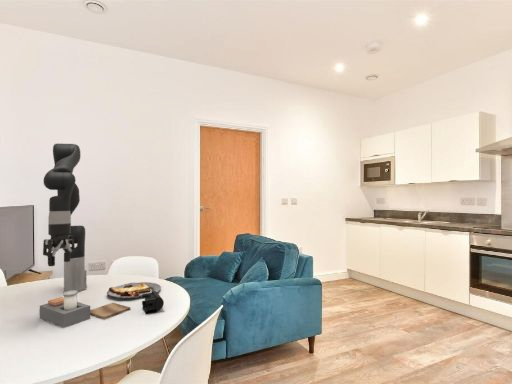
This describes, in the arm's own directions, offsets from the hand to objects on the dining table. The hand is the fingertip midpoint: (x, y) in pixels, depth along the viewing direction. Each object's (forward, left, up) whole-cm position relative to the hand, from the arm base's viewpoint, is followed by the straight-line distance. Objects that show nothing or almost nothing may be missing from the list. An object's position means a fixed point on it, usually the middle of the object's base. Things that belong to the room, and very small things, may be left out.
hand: (59, 263), depth 122 cm
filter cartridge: (-2, +4, -22) cm, 22 cm away
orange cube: (-2, -5, -20) cm, 21 cm away
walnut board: (-15, +9, -22) cm, 28 cm away
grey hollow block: (-2, 0, -22) cm, 22 cm away
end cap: (-26, +23, -22) cm, 41 cm away
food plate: (-37, -3, -23) cm, 43 cm away
